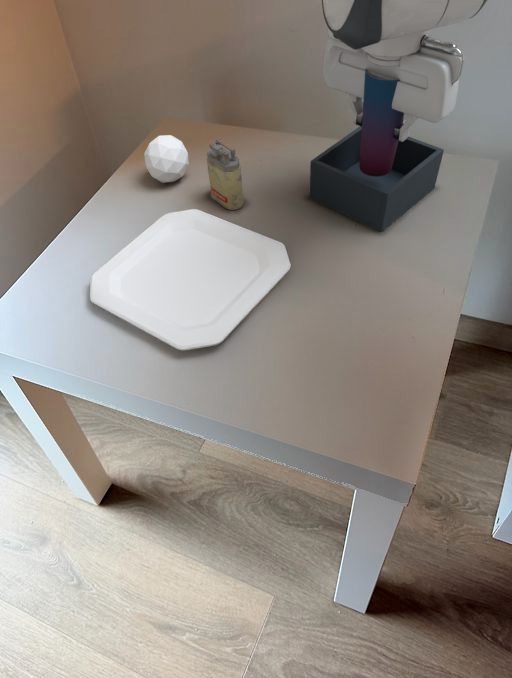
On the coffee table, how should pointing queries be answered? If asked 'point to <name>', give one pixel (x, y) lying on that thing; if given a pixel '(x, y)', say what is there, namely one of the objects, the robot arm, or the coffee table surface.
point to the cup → (378, 126)
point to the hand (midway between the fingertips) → (379, 131)
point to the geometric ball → (166, 158)
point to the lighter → (225, 176)
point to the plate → (189, 278)
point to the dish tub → (373, 180)
